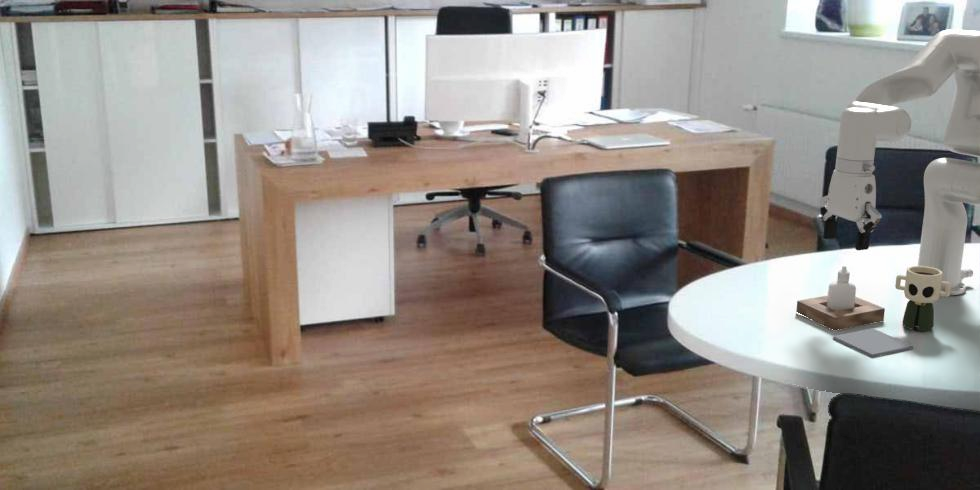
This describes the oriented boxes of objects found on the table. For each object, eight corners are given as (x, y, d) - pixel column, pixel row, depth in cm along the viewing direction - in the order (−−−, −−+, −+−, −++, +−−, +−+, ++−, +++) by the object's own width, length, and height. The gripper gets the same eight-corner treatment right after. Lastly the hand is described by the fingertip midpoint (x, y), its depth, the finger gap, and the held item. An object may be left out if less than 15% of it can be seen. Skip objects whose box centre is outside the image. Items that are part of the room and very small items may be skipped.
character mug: (887, 328, 218) (894, 271, 215) (893, 318, 224) (900, 262, 221) (942, 337, 213) (950, 279, 209) (946, 327, 219) (954, 270, 215)
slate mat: (872, 331, 217) (873, 328, 217) (912, 348, 207) (913, 345, 207) (833, 338, 212) (833, 336, 212) (872, 357, 203) (872, 354, 203)
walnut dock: (844, 304, 233) (845, 292, 232) (883, 321, 222) (884, 308, 222) (796, 313, 227) (797, 300, 227) (834, 330, 217) (835, 317, 216)
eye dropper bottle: (828, 312, 228) (833, 261, 225) (854, 316, 225) (859, 265, 222) (824, 318, 224) (829, 266, 221) (850, 322, 222) (856, 270, 218)
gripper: (898, 172, 209) (888, 252, 214) (838, 158, 224) (830, 232, 229) (871, 175, 206) (861, 255, 211) (812, 160, 221) (804, 235, 226)
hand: (845, 243), depth 220 cm, fingers open, 9 cm apart
